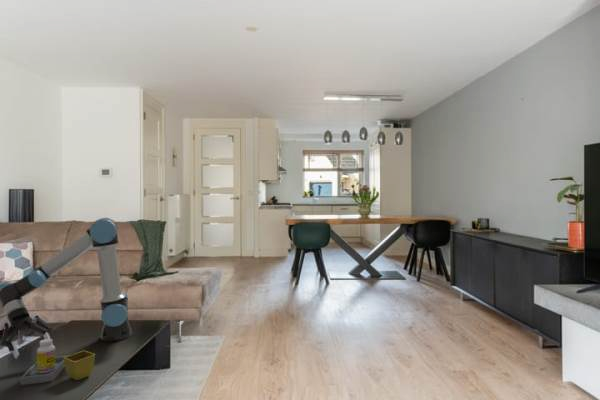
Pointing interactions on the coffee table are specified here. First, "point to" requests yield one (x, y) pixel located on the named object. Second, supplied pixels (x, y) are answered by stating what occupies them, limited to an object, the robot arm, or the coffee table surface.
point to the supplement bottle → (46, 356)
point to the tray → (36, 377)
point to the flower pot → (79, 364)
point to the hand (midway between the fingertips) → (34, 351)
